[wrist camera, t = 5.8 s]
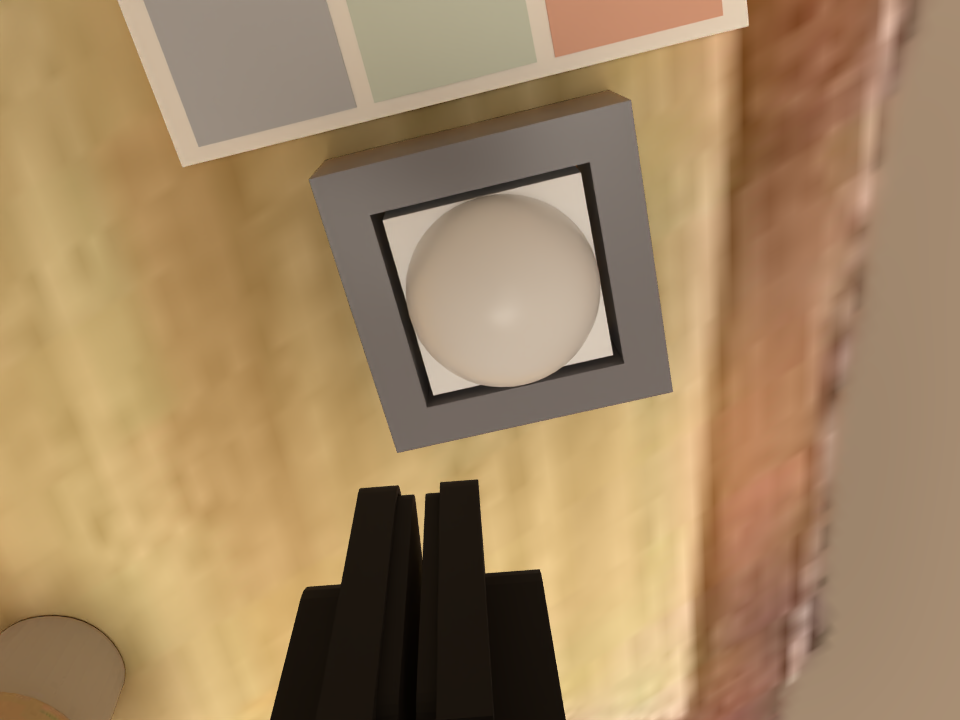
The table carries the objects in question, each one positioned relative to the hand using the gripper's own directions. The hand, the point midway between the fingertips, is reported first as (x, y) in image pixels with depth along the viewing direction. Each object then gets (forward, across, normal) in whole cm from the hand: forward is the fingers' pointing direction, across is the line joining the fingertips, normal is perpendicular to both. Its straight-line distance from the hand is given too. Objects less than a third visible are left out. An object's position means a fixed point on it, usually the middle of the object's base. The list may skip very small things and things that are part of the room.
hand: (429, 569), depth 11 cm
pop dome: (+18, -2, +1) cm, 19 cm away
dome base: (+18, -2, +1) cm, 19 cm away
